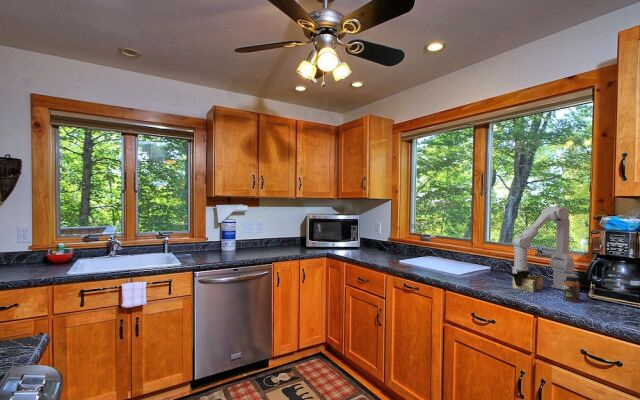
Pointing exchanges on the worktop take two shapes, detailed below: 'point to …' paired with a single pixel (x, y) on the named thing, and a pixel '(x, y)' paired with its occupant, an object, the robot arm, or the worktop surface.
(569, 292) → the supplement bottle
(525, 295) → the worktop surface
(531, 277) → the bracket
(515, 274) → the robot arm
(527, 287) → the beige block
